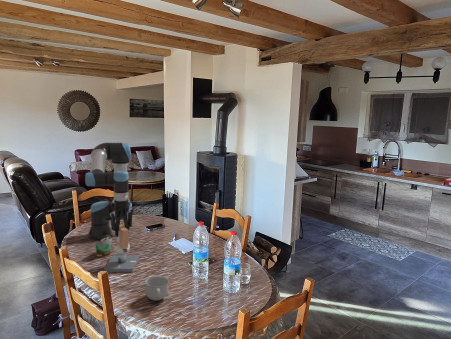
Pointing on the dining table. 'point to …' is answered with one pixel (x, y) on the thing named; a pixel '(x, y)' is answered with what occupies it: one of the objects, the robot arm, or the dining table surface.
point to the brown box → (122, 241)
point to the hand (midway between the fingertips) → (122, 240)
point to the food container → (103, 246)
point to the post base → (121, 263)
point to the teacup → (156, 287)
